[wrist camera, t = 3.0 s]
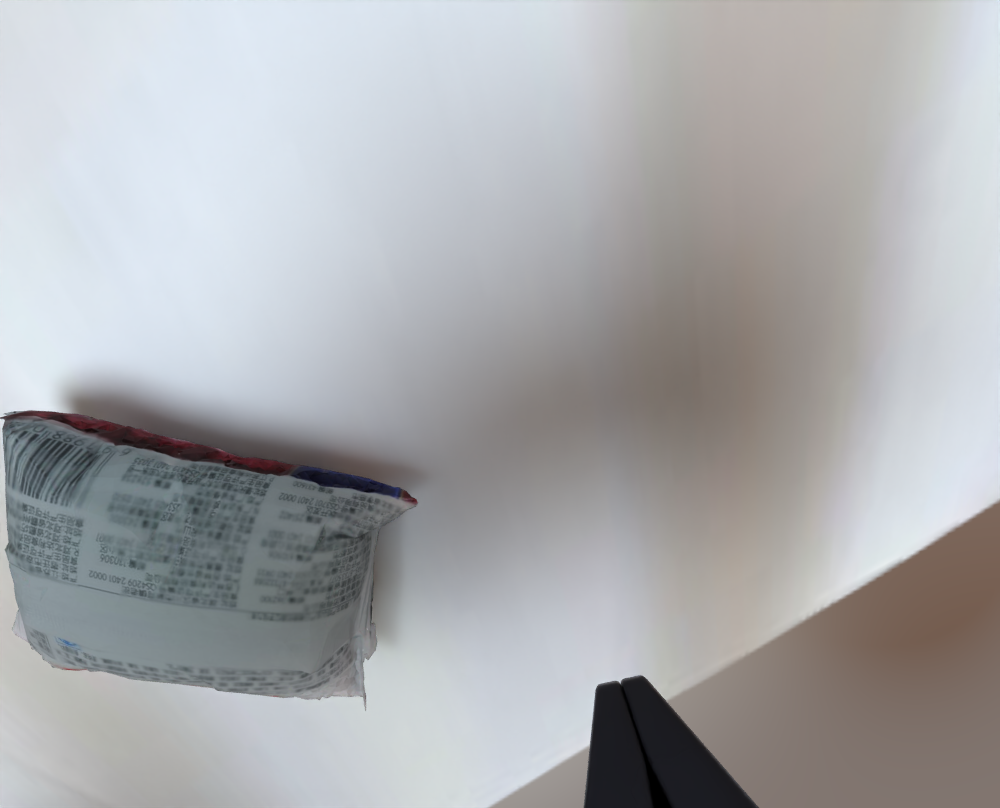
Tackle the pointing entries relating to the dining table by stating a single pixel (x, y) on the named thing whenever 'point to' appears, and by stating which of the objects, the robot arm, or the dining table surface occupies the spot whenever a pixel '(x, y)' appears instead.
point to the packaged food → (190, 559)
